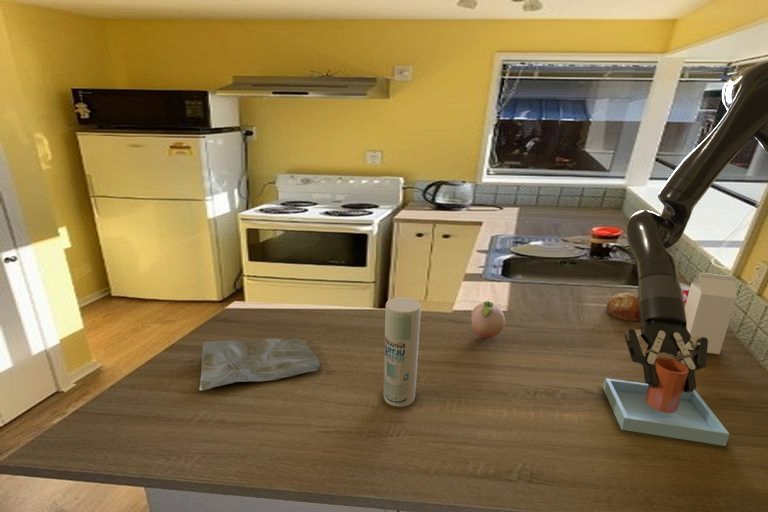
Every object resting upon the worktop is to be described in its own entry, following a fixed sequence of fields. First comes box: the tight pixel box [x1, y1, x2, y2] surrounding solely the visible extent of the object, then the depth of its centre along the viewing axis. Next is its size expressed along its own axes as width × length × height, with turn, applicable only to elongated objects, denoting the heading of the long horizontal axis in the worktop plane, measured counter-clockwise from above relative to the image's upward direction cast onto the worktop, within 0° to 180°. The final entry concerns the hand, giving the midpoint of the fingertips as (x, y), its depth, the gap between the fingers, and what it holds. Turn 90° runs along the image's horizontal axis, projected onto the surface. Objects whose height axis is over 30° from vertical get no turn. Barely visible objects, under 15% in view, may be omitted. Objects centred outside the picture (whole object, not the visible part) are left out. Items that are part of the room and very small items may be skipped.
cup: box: [645, 357, 689, 413], centre depth 79 cm, size 5×5×8 cm
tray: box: [602, 377, 730, 447], centre depth 80 cm, size 17×13×3 cm
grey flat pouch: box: [198, 336, 321, 391], centre depth 94 cm, size 24×16×2 cm, turn 109°
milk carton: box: [685, 272, 738, 355], centre depth 103 cm, size 7×7×19 cm
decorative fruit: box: [470, 300, 506, 339], centre depth 106 cm, size 9×8×10 cm
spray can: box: [383, 297, 422, 408], centre depth 81 cm, size 6×6×20 cm
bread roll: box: [606, 292, 640, 322], centre depth 122 cm, size 10×10×8 cm
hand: (670, 388), depth 77 cm, fingers closed on cup, 5 cm apart
